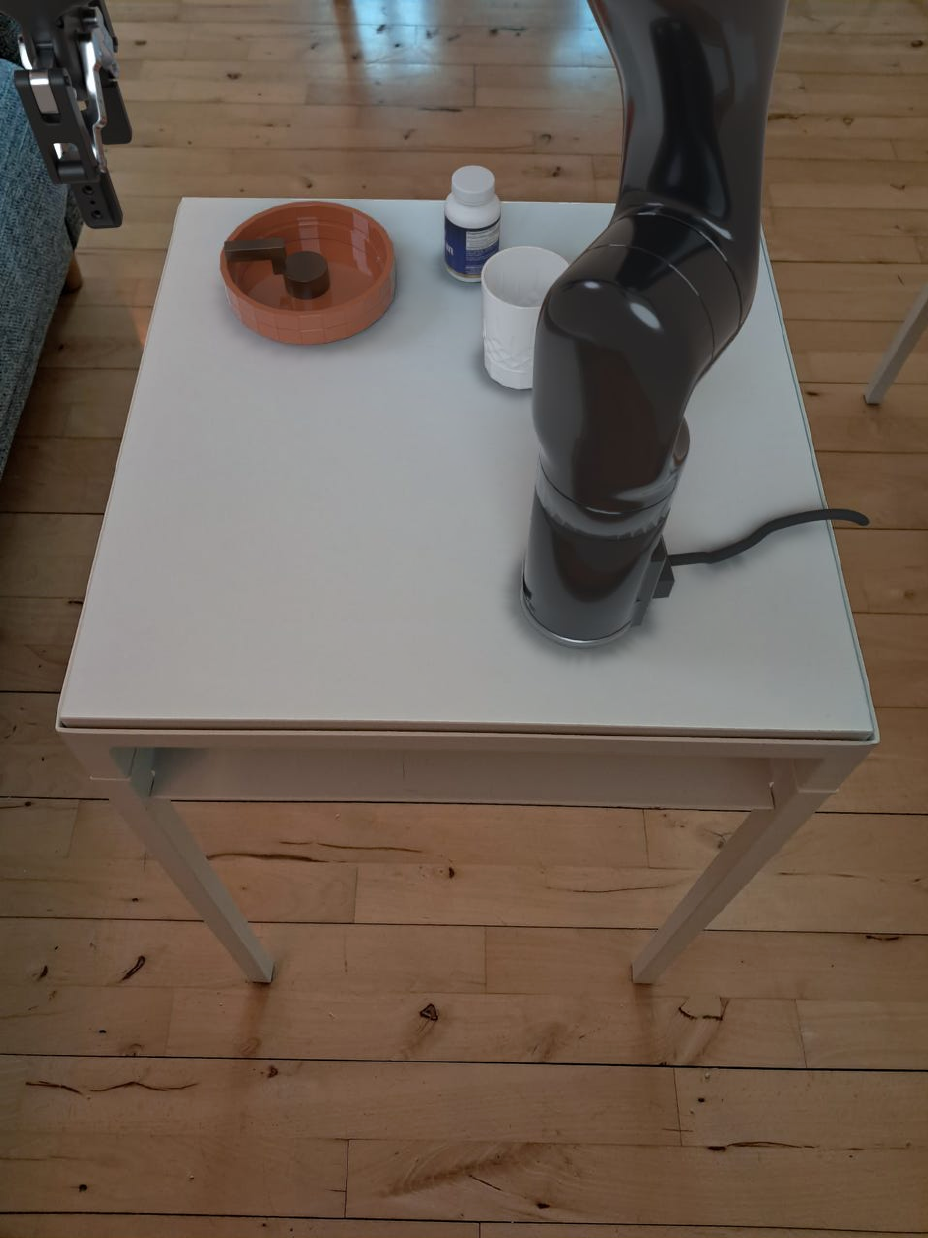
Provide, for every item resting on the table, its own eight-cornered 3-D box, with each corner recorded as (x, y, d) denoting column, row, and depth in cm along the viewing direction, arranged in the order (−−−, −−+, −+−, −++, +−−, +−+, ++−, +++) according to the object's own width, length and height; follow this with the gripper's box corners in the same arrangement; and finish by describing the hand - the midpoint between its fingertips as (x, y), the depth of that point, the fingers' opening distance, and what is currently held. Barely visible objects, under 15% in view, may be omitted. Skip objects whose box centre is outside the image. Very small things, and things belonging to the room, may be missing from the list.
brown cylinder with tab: (329, 267, 93) (323, 224, 89) (331, 297, 91) (325, 254, 87) (234, 273, 93) (224, 230, 88) (234, 304, 91) (223, 261, 86)
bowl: (389, 230, 97) (387, 196, 94) (401, 342, 89) (400, 309, 86) (229, 240, 96) (221, 205, 93) (227, 354, 88) (218, 321, 84)
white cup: (576, 381, 87) (590, 294, 78) (497, 404, 85) (503, 318, 77) (541, 325, 90) (551, 236, 82) (465, 346, 89) (467, 257, 80)
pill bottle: (437, 253, 96) (436, 165, 87) (488, 244, 96) (491, 155, 88) (453, 288, 93) (453, 200, 85) (505, 278, 94) (510, 190, 85)
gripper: (73, -54, 42) (166, 252, 56) (99, -189, 49) (176, 112, 63) (-100, -47, 42) (38, 260, 56) (-48, -185, 49) (62, 118, 63)
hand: (111, 181), depth 59 cm, fingers open, 8 cm apart
